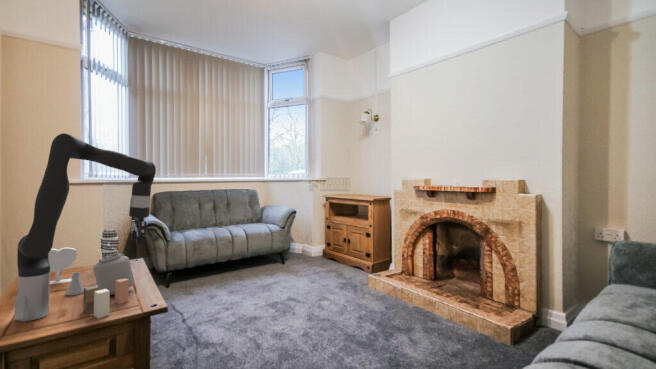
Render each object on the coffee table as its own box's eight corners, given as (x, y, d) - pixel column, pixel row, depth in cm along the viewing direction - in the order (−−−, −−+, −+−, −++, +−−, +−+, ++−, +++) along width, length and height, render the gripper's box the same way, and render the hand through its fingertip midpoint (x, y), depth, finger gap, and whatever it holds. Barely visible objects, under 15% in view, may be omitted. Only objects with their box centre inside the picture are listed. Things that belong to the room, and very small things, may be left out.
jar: (85, 301, 139) (86, 246, 139) (89, 291, 152) (90, 241, 152) (134, 294, 149) (135, 243, 149) (134, 285, 162) (135, 238, 162)
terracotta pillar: (128, 301, 140) (128, 279, 140) (118, 304, 137) (119, 282, 137) (124, 299, 143) (125, 278, 143) (114, 302, 139) (115, 280, 139)
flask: (73, 296, 145) (74, 275, 145) (61, 295, 146) (62, 274, 146) (88, 291, 152) (89, 271, 152) (76, 290, 153) (77, 270, 153)
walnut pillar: (98, 310, 130) (98, 287, 130) (86, 314, 126) (87, 289, 126) (94, 308, 132) (95, 285, 132) (83, 311, 129) (83, 287, 129)
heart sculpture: (37, 286, 157) (38, 251, 157) (37, 283, 161) (38, 249, 160) (76, 280, 168) (77, 247, 168) (75, 278, 171) (76, 246, 171)
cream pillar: (109, 314, 126) (109, 290, 126) (97, 318, 123) (98, 293, 123) (105, 312, 128) (105, 288, 128) (93, 315, 125) (94, 291, 125)
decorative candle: (95, 271, 184) (96, 230, 184) (109, 267, 193) (110, 228, 193) (108, 272, 183) (109, 230, 183) (121, 268, 192) (122, 228, 192)
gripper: (126, 203, 135) (122, 239, 135) (134, 207, 125) (130, 247, 125) (145, 203, 141) (141, 238, 141) (154, 207, 130) (151, 245, 131)
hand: (136, 242), depth 133 cm, fingers open, 8 cm apart
